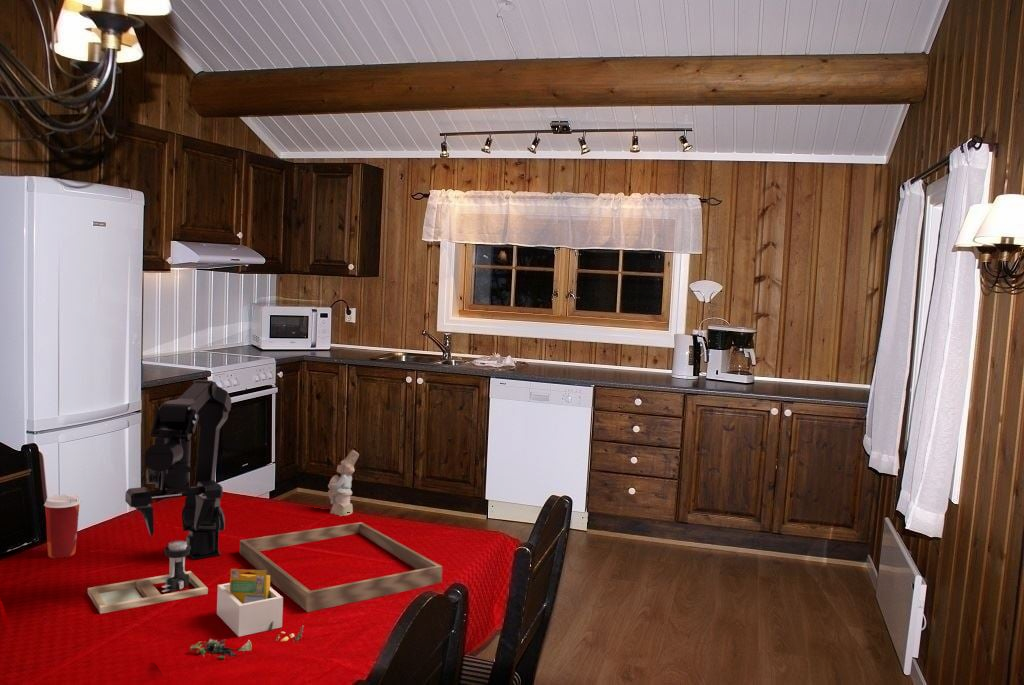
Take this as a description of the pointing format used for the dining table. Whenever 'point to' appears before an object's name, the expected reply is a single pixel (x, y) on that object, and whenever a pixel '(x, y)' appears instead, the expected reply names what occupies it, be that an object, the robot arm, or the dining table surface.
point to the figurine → (342, 486)
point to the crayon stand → (249, 612)
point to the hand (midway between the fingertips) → (173, 532)
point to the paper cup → (62, 525)
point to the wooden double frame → (128, 597)
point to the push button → (177, 565)
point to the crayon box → (249, 585)
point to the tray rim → (344, 593)
